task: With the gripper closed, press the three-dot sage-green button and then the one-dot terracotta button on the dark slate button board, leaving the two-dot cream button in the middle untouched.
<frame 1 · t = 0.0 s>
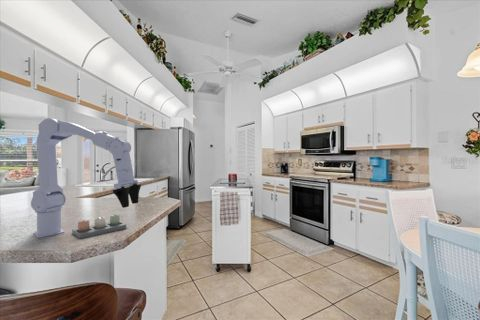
hand: (130, 205, 89), 10 cm above the countertop, tool pointing down, fingers open, 7 cm apart
cream button: (99, 222, 91), point 3 cm above the countertop, slide at 0.0 cm
sage button: (114, 219, 95), point 3 cm above the countertop, slide at 0.0 cm
terracotta button: (83, 225, 87), point 3 cm above the countertop, slide at 0.0 cm
button board: (100, 230, 91), on the countertop
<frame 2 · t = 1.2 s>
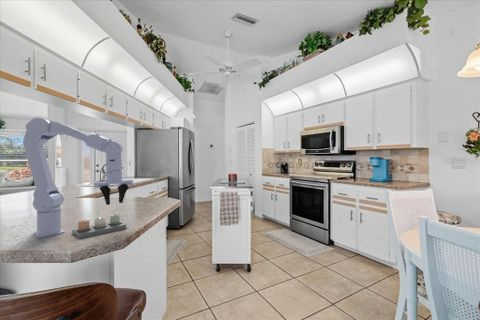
hand: (114, 203, 95), 10 cm above the countertop, tool pointing down, fingers open, 4 cm apart
nothing on the countertop moved.
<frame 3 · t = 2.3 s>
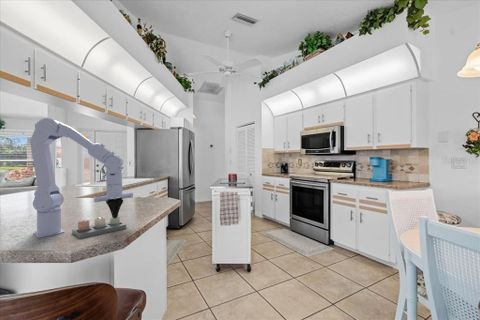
hand: (114, 217, 95), 4 cm above the countertop, tool pointing down, fingers closed, pressing on sage button
sage button: (114, 221, 95), point 2 cm above the countertop, slide at 1.0 cm, touching gripper
everything else where it was.
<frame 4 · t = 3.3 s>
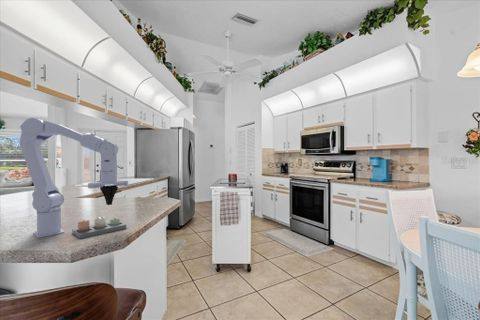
hand: (109, 204, 94), 10 cm above the countertop, tool pointing down, fingers closed
sage button: (114, 222, 95), point 2 cm above the countertop, slide at 1.4 cm
everything else where it was.
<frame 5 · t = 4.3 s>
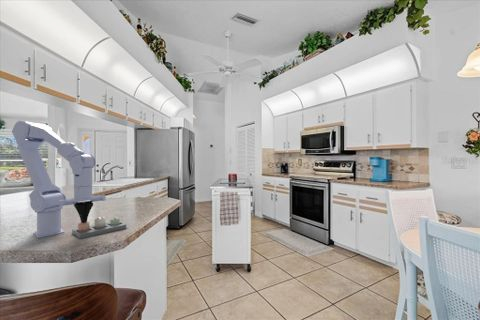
hand: (83, 222, 87), 5 cm above the countertop, tool pointing down, fingers closed, pressing on terracotta button
terracotta button: (83, 227, 87), point 3 cm above the countertop, slide at 0.7 cm, touching gripper
everything else where it was.
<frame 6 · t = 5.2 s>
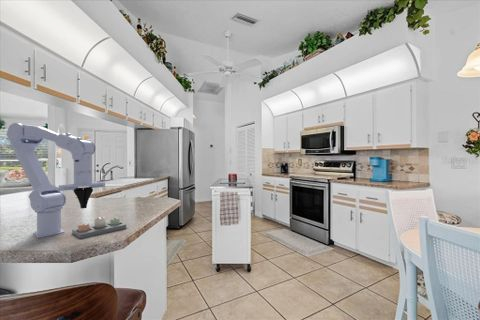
hand: (83, 208, 87), 10 cm above the countertop, tool pointing down, fingers closed
terracotta button: (83, 229, 87), point 2 cm above the countertop, slide at 1.4 cm
everything else where it was.
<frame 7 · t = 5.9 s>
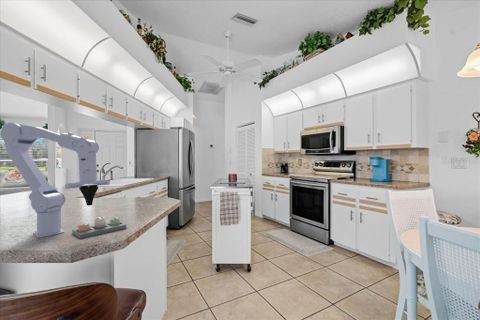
hand: (89, 205, 90), 10 cm above the countertop, tool pointing down, fingers closed
nothing on the countertop moved.
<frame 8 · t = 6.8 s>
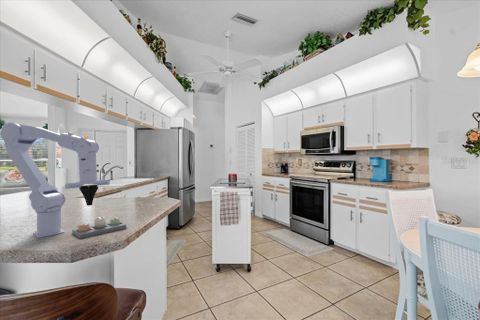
hand: (89, 205, 90), 10 cm above the countertop, tool pointing down, fingers closed
nothing on the countertop moved.
at the end: sage button slide at 1.4 cm; terracotta button slide at 1.4 cm; cream button slide at 0.0 cm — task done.
